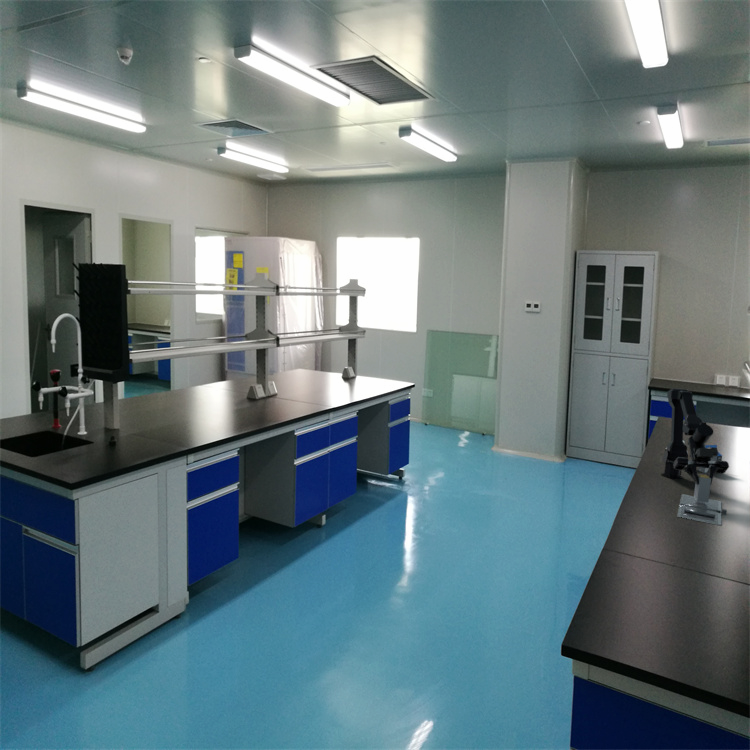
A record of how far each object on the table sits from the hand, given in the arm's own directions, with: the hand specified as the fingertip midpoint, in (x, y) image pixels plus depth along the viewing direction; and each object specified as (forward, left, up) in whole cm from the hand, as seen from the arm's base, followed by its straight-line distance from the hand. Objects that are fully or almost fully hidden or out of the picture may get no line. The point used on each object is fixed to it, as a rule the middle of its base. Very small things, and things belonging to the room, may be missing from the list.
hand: (704, 484), depth 235 cm
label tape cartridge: (+42, +34, -8) cm, 54 cm away
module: (+1, +1, -7) cm, 7 cm away
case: (-4, -4, -8) cm, 10 cm away
